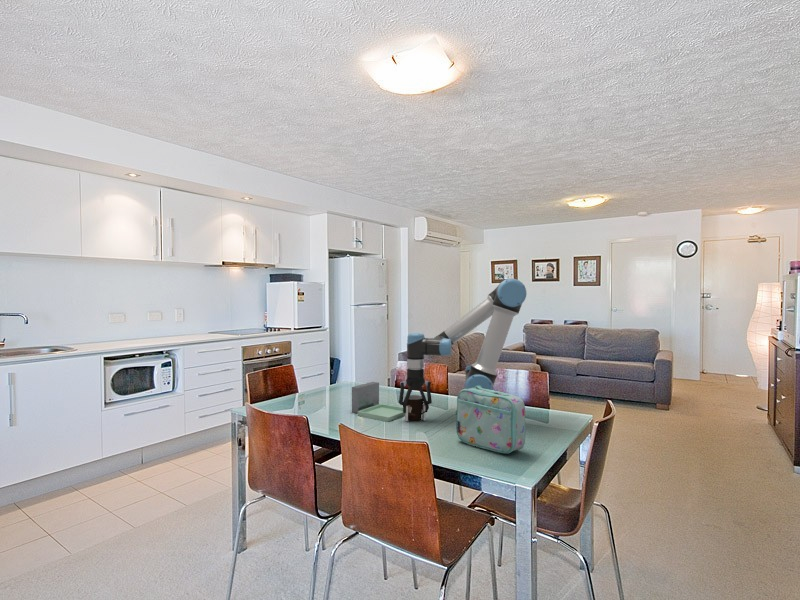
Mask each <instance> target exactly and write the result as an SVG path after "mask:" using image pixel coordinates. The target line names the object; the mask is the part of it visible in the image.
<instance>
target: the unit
mask: <svg viewBox="0 0 800 600" xmlns="http://www.w3.org/2000/svg"><path fill="white" fill-rule="evenodd" d="M379 404H380V382H377V381H370V382H366V383H362V384H359V385H355V386H351V413H354V414H358V411H360V410H363V409H366V408H369V407H373V406H376V405H379Z"/></svg>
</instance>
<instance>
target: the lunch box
mask: <svg viewBox="0 0 800 600" xmlns="http://www.w3.org/2000/svg"><path fill="white" fill-rule="evenodd" d="M456 398H457V399H456V405H457V406H456V411H455V414H454V415H455V416H456V421H455V423H456V424H455V426H456V427H455V428H456V433H457V437H458V439H459V441H461V442H462V443H464V444H466V445H469V446H473V447H475V446H476V448H479V449H483V450H487V451H491V452H494V453H500V454H510V453H512V452H516V451H518V450H521V449H523V448H524V446H525V444H526V407H525V402H524V399H522V398H521V397H519V396H518V395H515V394H511V393H507V392H502V391H499V390H494V389H493V390H489V389H483V388H482V387H481V386H475V388H471V389H465V388H463V389H461V390H460V391H459V392H458V395H457V397H456Z"/></svg>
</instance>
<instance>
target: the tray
mask: <svg viewBox="0 0 800 600" xmlns="http://www.w3.org/2000/svg"><path fill="white" fill-rule="evenodd" d="M357 416H359V417H363V418H367V419H371V420H372V419H373V420H377V421H381V422H387V423H389V422H392V421H395V420H397V419H400V418H402V417H405V413H403V406H396V405H390V404H384V403H379V405H376V406H373V407H369V408H366V409H363V410H360V411H358V413H357Z"/></svg>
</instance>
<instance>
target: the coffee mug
mask: <svg viewBox="0 0 800 600" xmlns="http://www.w3.org/2000/svg"><path fill="white" fill-rule="evenodd" d="M403 399H405V396H403ZM424 403H425V404H426V405H427V410H429V409H430V406H429V405H430V404H428V403H426V402H423V398H422V396H421V395H418V394H410V397H409V399H408V402H407V405H406V406H408V421H407V422H416V423H417V422H420V421H422V414H423V413H425V414H426V413H427V412H428V411H427V410H426V411H427V412H426V411H424V412H423V413H422V408H423V404H424Z"/></svg>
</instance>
